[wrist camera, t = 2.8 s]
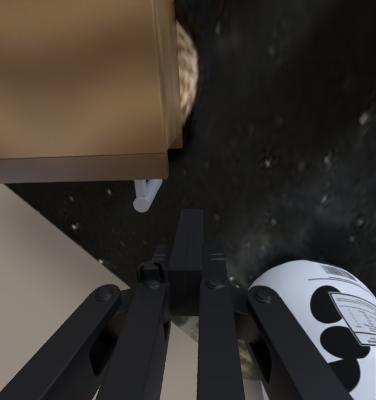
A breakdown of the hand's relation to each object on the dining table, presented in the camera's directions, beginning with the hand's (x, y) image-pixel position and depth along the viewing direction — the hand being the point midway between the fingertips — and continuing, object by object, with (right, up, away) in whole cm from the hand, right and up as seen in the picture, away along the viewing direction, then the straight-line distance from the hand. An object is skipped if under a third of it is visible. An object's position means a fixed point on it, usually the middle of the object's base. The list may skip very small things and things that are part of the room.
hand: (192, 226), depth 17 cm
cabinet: (-11, +15, +9) cm, 21 cm away
